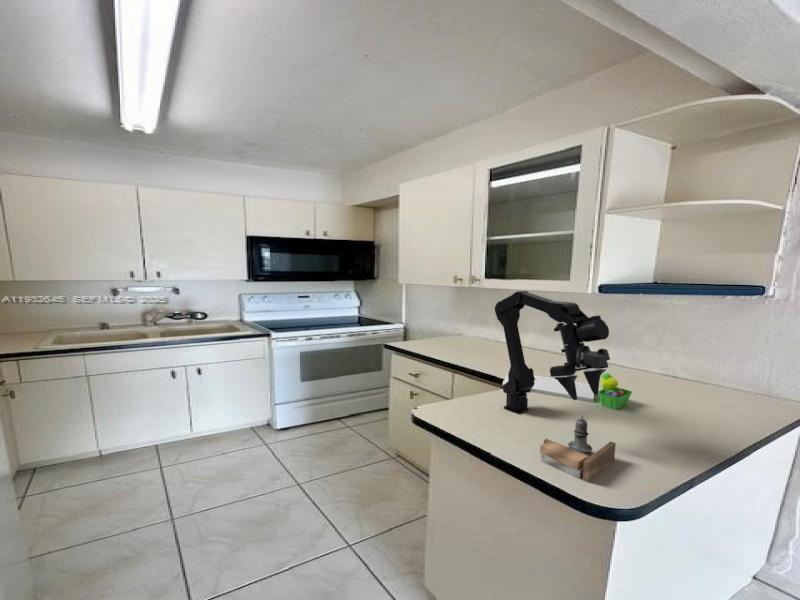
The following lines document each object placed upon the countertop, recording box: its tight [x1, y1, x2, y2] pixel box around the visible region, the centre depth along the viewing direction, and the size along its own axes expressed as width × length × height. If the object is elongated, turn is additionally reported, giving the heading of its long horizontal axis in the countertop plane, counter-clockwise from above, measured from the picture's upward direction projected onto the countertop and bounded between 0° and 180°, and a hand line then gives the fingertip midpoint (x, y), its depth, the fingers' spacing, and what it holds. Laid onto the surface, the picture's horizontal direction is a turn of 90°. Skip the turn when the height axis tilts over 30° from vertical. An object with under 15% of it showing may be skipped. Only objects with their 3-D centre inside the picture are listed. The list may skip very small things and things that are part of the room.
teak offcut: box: [539, 441, 586, 470], centre depth 95 cm, size 10×4×2 cm, turn 38°
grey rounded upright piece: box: [567, 416, 593, 456], centre depth 101 cm, size 6×6×12 cm
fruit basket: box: [598, 372, 633, 411], centre depth 139 cm, size 11×9×11 cm
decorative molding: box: [501, 370, 595, 403], centre depth 154 cm, size 34×5×10 cm
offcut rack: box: [543, 438, 616, 483], centre depth 98 cm, size 14×16×6 cm
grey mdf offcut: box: [540, 453, 583, 479], centre depth 95 cm, size 10×4×2 cm, turn 40°
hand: (585, 397), depth 109 cm, fingers open, 9 cm apart
